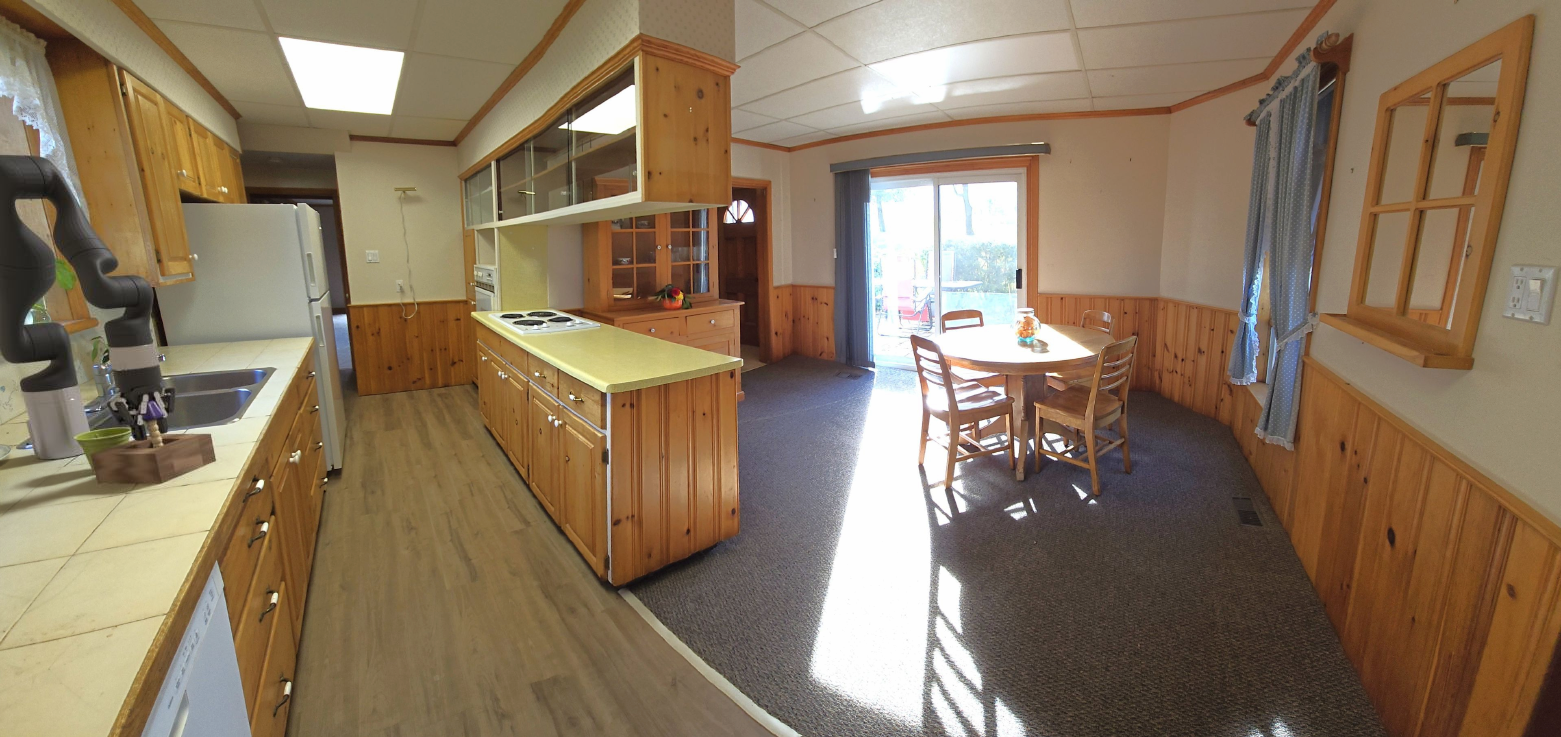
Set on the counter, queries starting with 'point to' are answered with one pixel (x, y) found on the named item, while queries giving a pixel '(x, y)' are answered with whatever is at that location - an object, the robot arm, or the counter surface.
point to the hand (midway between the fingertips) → (151, 436)
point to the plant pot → (102, 440)
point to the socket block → (153, 459)
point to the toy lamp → (153, 422)
